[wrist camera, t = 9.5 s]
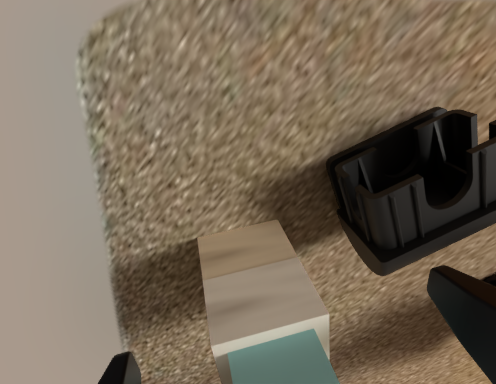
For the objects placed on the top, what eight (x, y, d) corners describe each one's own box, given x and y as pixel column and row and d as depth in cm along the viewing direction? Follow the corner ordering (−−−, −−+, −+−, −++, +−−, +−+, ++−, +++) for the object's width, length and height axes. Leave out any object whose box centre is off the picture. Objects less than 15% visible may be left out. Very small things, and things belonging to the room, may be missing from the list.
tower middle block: (302, 321, 23) (329, 382, 19) (219, 344, 22) (230, 412, 18) (298, 256, 20) (329, 313, 16) (202, 280, 19) (211, 346, 15)
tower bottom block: (282, 278, 27) (302, 322, 23) (211, 296, 26) (219, 344, 22) (277, 219, 24) (298, 257, 20) (197, 237, 23) (202, 281, 19)
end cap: (340, 235, 26) (390, 296, 20) (317, 162, 23) (369, 212, 17) (452, 181, 26) (535, 228, 20) (447, 100, 22) (545, 128, 17)
